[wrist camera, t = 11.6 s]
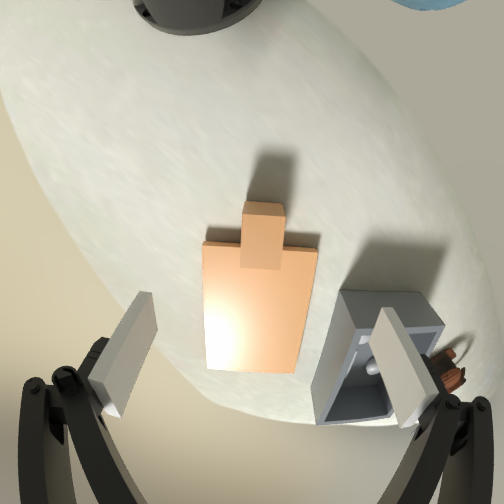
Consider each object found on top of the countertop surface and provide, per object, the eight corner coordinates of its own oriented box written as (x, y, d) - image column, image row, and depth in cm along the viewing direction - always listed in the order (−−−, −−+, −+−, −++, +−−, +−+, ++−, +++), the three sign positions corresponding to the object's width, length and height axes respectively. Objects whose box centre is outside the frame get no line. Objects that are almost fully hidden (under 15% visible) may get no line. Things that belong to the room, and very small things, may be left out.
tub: (339, 289, 35) (355, 328, 28) (419, 292, 35) (445, 325, 28) (310, 387, 43) (316, 425, 36) (378, 383, 43) (389, 417, 36)
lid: (205, 197, 31) (193, 211, 26) (320, 204, 31) (333, 220, 26) (209, 359, 41) (203, 387, 36) (292, 364, 41) (295, 392, 36)
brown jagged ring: (462, 338, 40) (478, 373, 35) (437, 356, 47) (451, 388, 42) (420, 363, 38) (437, 404, 33) (397, 379, 45) (411, 414, 40)
